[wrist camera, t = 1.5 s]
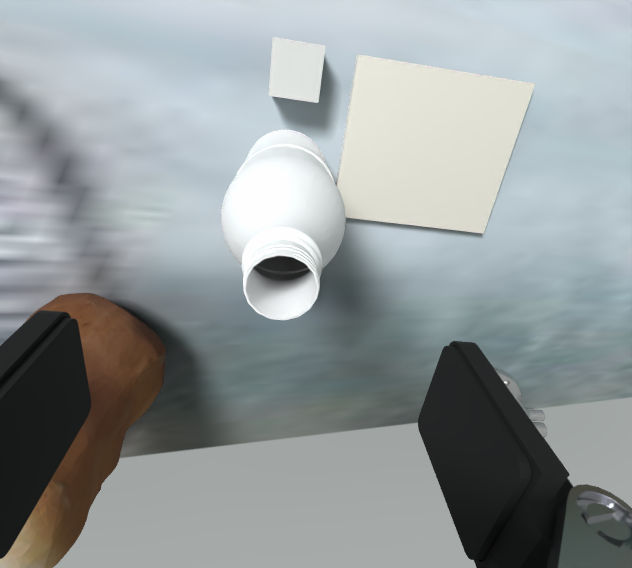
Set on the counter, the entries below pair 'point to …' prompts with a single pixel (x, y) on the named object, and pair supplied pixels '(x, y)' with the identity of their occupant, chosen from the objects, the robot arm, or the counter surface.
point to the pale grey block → (296, 70)
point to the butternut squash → (93, 423)
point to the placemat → (427, 143)
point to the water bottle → (283, 223)
